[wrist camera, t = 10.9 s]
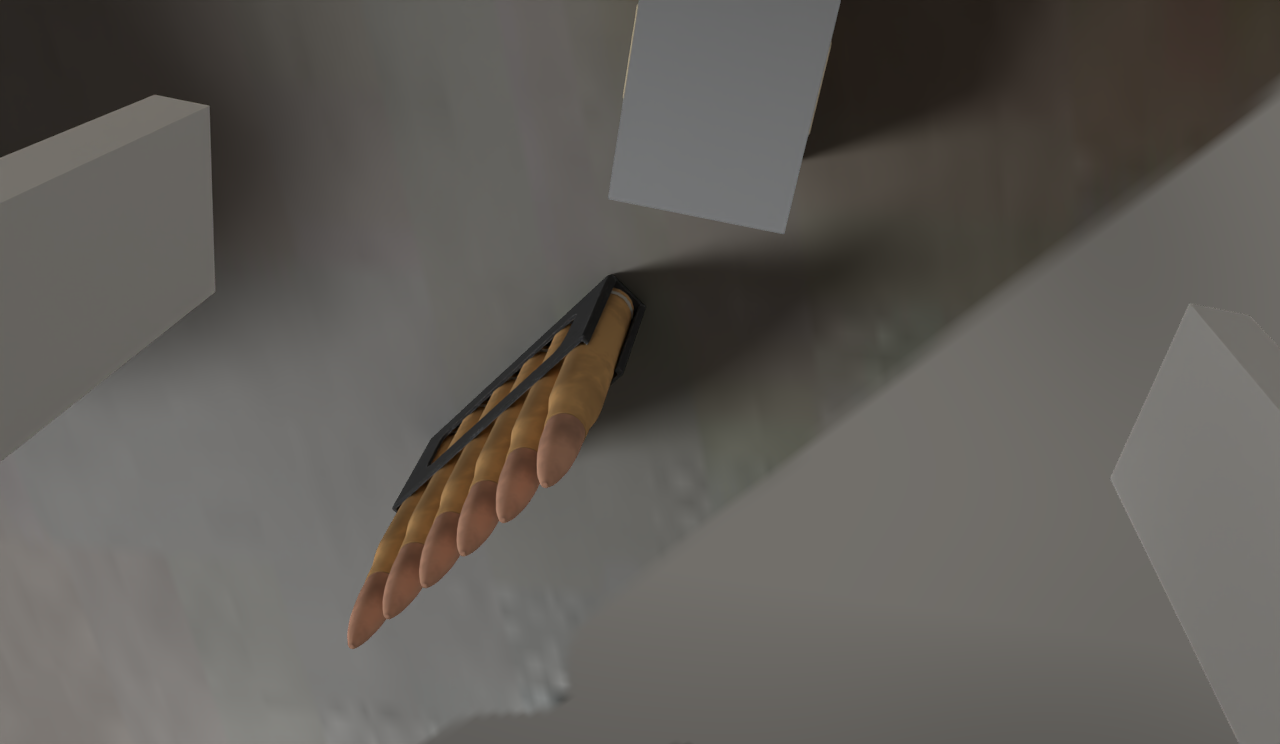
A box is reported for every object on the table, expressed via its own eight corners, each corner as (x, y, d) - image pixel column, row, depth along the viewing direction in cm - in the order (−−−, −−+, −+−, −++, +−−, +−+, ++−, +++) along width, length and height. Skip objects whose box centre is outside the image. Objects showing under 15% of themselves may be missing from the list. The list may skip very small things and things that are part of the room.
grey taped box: (638, 134, 36) (606, 198, 29) (680, -123, 32) (654, -112, 26) (786, 164, 35) (785, 234, 29) (846, -92, 32) (860, -73, 25)
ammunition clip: (611, 271, 38) (542, 442, 27) (647, 306, 38) (593, 487, 28) (429, 440, 42) (308, 644, 32) (464, 470, 43) (356, 680, 32)
